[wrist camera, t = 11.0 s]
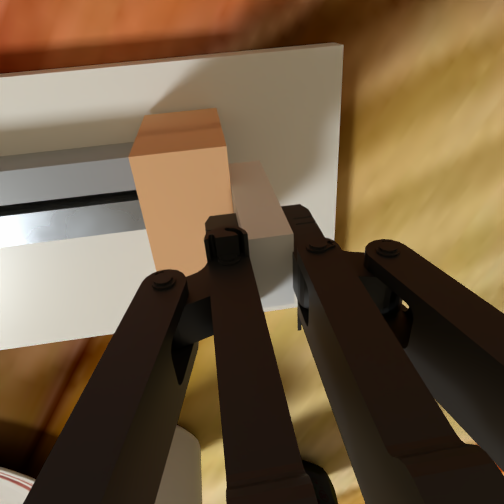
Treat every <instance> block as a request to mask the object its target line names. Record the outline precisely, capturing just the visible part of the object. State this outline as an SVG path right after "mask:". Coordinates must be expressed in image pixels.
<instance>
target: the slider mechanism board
mask: <svg viewBox="0 0 504 504" xmlns="http://www.w3.org/2000/svg"><path fill="white" fill-rule="evenodd" d="M343 49H344V45H342V44H338V43H335V42H332V43H322V44H311V45H300V46H290V47H279V48H269V49H258V50H247V51H237V52H226V53H215V54H205V55H194V56H184V57H173V58H162V59H152V60H141V61H131V62H120V63H109V64H99V65H88V66H78V67H67V68H56V69H46V70H35V71H24V72H14V73H3V74H0V206H3V205H11V204H20V203H28V202H37V201H45V200H54V199H62V198H70V197H79V196H87V195H96V194H104V193H113V192H121V191H130V190H136V187H135V182H134V178H133V174H132V170H131V166H130V162H129V158H128V156H129V154H130V151H131V149H132V146H133V144H134V141H135V138H136V136H137V133H138V131H139V128H140V126H141V123H142V120H143V118H144V115H152V114H161V113H171V112H180V111H190V110H199V109H209V108H217V112H218V116H219V120H220V123H221V127H222V131H223V135H224V138H225V142H226V146H227V155H228V164H231V163H240V162H249V161H258V160H260V162H261V165H262V167H263V169H264V171H265V173H266V175H267V177H268V180H269V182H270V184H271V186H272V188H273V190H274V193H275V195H276V197H277V199H278V201H279V203H280V206H288V205H296V204H301V205H302V206H304V207H306V208H307V209H309V211H310V213H311V214H312V217H313V218H314V220H315V221H316V223H317V225H318V226H319V228H320V230H321V231H322V233H323V235H324V236H325V237H326V238H329V239H332V240H334V237H335V216H336V195H337V174H338V153H339V133H340V112H341V91H342V70H343ZM154 272H156V268H155V264H154V260H153V256H152V252H151V247H150V243H149V239H148V235H147V231H146V229H143V230H135V231H127V232H119V233H111V234H104V235H96V236H88V237H80V238H72V239H64V240H56V241H48V242H40V243H32V244H24V245H16V246H8V247H0V350H4V349H11V348H18V347H25V346H32V345H39V344H46V343H53V342H59V341H66V340H73V339H80V338H87V337H94V336H101V335H108V334H114V333H115V331H116V329H117V327H118V326H119V324H120V322H121V320H122V318H123V316H124V314H125V313H126V311H127V309H128V307H129V305H130V303H131V301H132V299H133V298H134V296H135V294H136V292H137V290H138V288H139V286H140V285H141V283H142V281H143V280H144V279H145V278H146V277H147V276H149V275H150V274H152V273H154ZM294 307H298V302H297V297H296V295H295V292H294V304H287V305H280V306H273V307H266V308H263V311H264V312H266V311H273V310H280V309H287V308H294Z"/></svg>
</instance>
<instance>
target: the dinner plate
mask: <svg viewBox="0 0 504 504" xmlns="http://www.w3.org/2000/svg"><path fill="white" fill-rule="evenodd" d="M35 480H36V479H34V478H32V477H29V476H27V475H24V474H21V473H19V472H16V471H13V470H10V469H7V468H3V467H0V504H23V502H24V501H25V499H26V497H27V495H28V493H29V491H30V489H31V488H32V486H33V484H34V482H35Z"/></svg>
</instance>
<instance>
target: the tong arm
mask: <svg viewBox="0 0 504 504" xmlns="http://www.w3.org/2000/svg"><path fill="white" fill-rule="evenodd" d="M143 229H146V227H145V223H144V219H143V215H142V211H141V207H140V203H139V199H138V195H137V191H136V190H130V191H121V192H113V193H104V194H96V195H87V196H79V197H70V198H62V199H54V200H45V201H37V202H28V203H20V204H11V205H3V206H0V247H8V246H16V245H24V244H32V243H40V242H48V241H56V240H64V239H72V238H80V237H88V236H96V235H104V234H111V233H119V232H127V231H135V230H143Z"/></svg>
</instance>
